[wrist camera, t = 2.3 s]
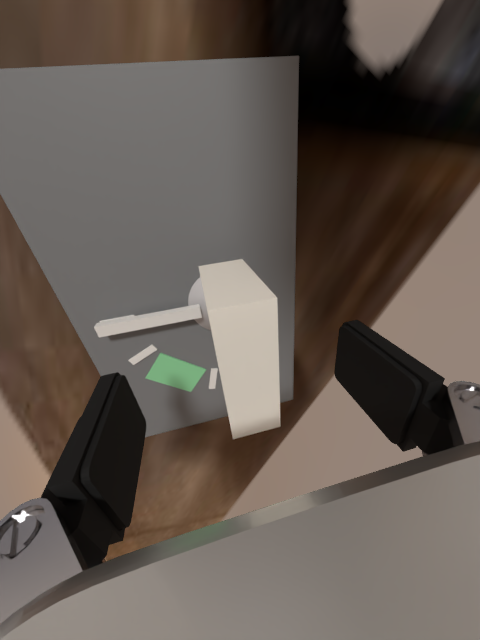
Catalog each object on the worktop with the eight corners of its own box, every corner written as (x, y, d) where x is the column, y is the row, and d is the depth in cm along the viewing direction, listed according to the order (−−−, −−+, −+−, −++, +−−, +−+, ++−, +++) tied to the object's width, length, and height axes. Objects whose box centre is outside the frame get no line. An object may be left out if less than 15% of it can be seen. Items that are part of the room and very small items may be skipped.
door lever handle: (73, 276, 12) (-35, 357, 6) (234, 250, 13) (277, 297, 7) (119, 369, 15) (77, 481, 9) (245, 341, 16) (280, 426, 10)
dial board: (-24, 93, 10) (-70, 70, 8) (282, 75, 12) (299, 54, 10) (139, 419, 21) (135, 440, 19) (284, 383, 23) (293, 400, 21)
